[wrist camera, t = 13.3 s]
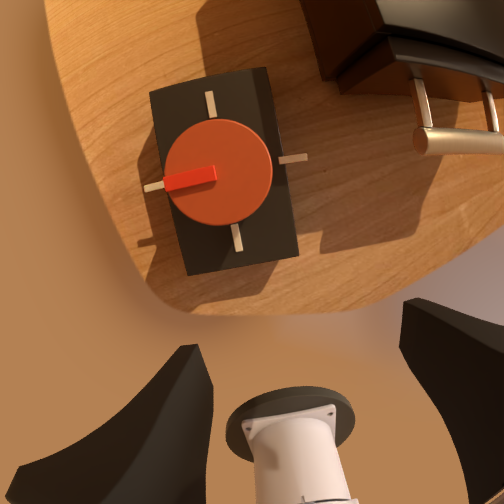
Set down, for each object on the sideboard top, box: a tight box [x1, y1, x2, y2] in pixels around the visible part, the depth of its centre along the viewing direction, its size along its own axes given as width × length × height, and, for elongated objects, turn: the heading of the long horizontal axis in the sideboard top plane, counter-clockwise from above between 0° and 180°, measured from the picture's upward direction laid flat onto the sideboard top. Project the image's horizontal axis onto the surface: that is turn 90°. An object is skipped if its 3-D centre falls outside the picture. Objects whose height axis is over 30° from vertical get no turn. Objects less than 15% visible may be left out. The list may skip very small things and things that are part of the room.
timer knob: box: [163, 119, 273, 226], centre depth 11 cm, size 4×4×4 cm
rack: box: [336, 33, 504, 155], centre depth 9 cm, size 18×11×7 cm, turn 10°
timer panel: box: [144, 67, 308, 276], centre depth 15 cm, size 10×8×3 cm
